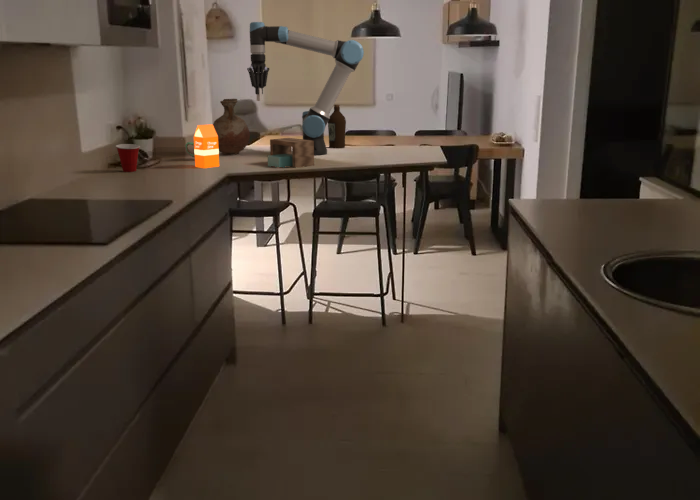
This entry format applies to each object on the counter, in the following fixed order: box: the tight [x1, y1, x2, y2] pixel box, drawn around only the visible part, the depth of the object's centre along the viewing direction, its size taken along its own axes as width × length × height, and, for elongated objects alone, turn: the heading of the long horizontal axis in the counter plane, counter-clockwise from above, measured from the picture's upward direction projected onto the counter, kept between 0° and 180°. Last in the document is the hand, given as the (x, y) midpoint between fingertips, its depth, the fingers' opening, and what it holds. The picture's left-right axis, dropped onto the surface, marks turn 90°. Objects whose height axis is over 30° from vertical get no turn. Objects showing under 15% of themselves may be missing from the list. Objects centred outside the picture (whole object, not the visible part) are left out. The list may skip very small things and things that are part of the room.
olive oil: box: [327, 104, 347, 149], centre depth 406 cm, size 11×11×25 cm
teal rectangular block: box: [267, 154, 293, 168], centre depth 333 cm, size 12×9×5 cm
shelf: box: [269, 137, 315, 168], centre depth 336 cm, size 12×19×12 cm, turn 44°
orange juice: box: [193, 123, 220, 169], centre depth 328 cm, size 8×9×20 cm
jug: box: [213, 98, 251, 156], centre depth 373 cm, size 22×22×30 cm
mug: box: [184, 141, 195, 159], centre depth 352 cm, size 15×10×10 cm
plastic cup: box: [115, 143, 141, 173], centre depth 315 cm, size 11×11×12 cm
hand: (259, 100), depth 357 cm, fingers closed
